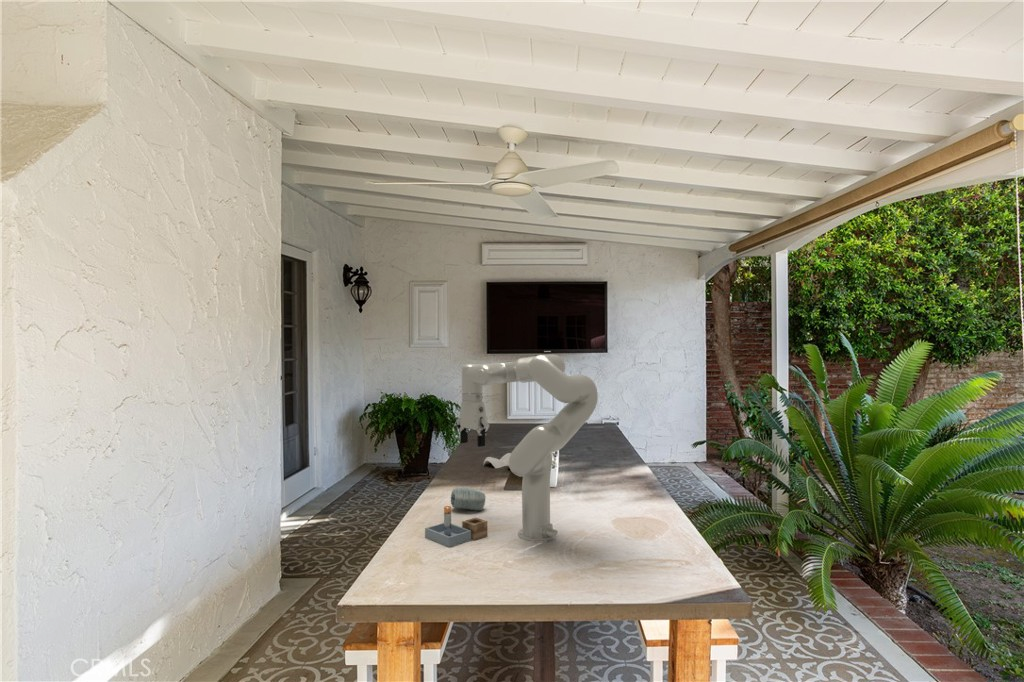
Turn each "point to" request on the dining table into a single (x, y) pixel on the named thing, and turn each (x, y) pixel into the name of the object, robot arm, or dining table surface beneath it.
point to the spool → (468, 498)
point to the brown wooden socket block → (476, 527)
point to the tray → (457, 536)
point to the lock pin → (447, 521)
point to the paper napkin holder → (499, 461)
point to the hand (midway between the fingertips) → (472, 444)
